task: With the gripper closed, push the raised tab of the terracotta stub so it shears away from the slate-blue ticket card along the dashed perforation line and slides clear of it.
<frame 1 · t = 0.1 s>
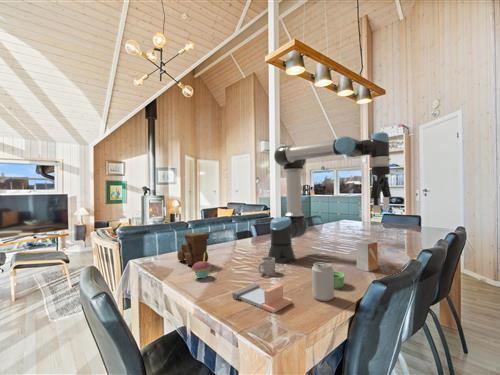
hand: (381, 211, 118), 28 cm above the table, fingers open, 13 cm apart
wooden toy train: (193, 262, 140), on the table
mug: (266, 274, 119), on the table
ramekin: (333, 285, 103), on the table
stub: (277, 297, 85), point 3 cm above the table, slide at 0.0 cm
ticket: (262, 300, 90), on the table
small box: (367, 269, 122), on the table
cupcake: (201, 277, 115), on the table
can: (323, 298, 91), on the table
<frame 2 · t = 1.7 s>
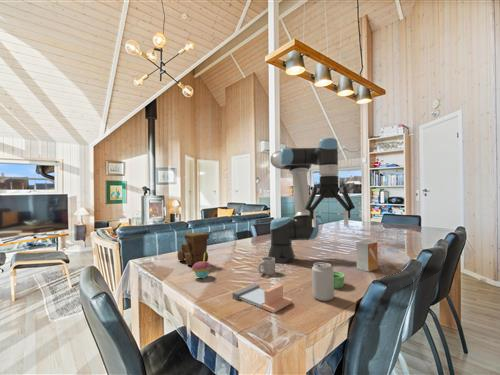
hand: (330, 226, 105), 23 cm above the table, fingers open, 13 cm apart
nothing on the table moved.
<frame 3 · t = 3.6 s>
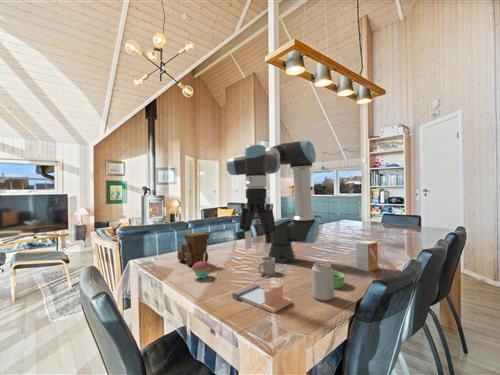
hand: (257, 250, 91), 17 cm above the table, fingers open, 8 cm apart
nothing on the table moved.
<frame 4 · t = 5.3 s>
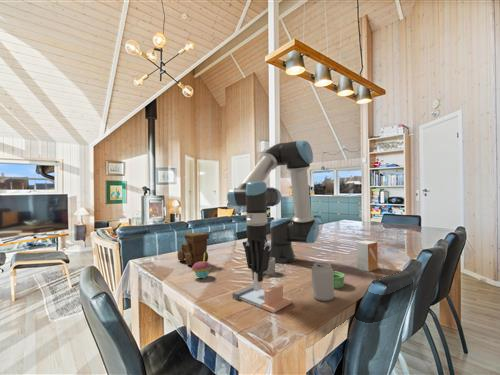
hand: (257, 289, 91), 3 cm above the table, fingers closed
nothing on the table moved.
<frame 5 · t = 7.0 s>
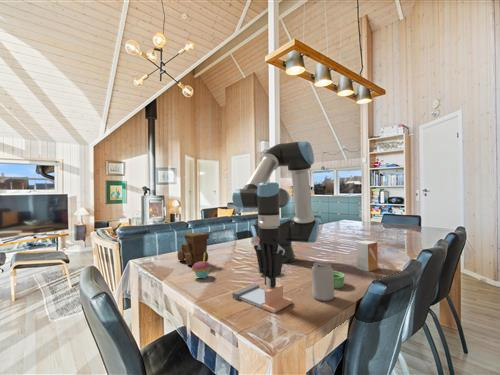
hand: (270, 295, 87), 3 cm above the table, fingers closed
stub: (277, 297, 85), point 3 cm above the table, slide at 0.1 cm, touching gripper
everything else where it was.
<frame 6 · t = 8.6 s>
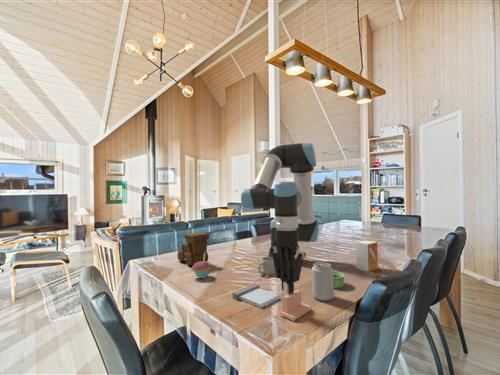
hand: (288, 301, 82), 3 cm above the table, fingers closed
stub: (296, 303, 80), point 3 cm above the table, slide at 7.5 cm, touching gripper
everything else where it was.
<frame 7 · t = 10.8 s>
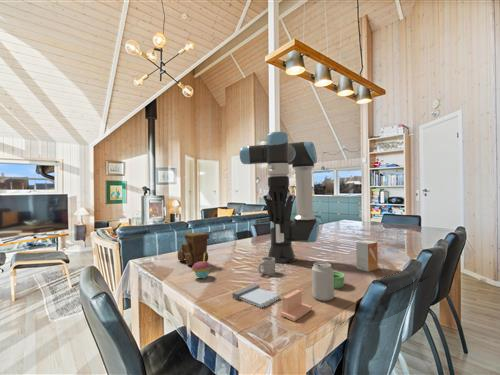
hand: (280, 241, 90), 21 cm above the table, fingers closed
stub: (296, 303, 80), point 3 cm above the table, slide at 7.6 cm
everything else where it was.
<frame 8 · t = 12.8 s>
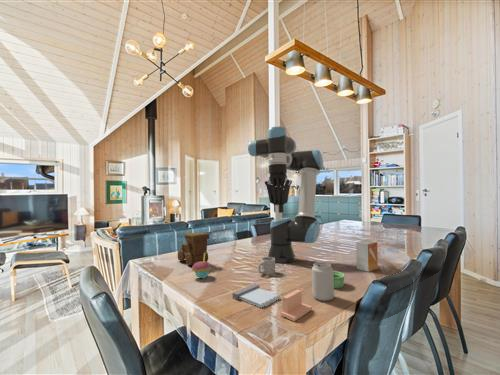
hand: (278, 220, 106), 26 cm above the table, fingers closed
nothing on the table moved.
at the end: stub slide at 7.6 cm; stub touching nothing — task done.
